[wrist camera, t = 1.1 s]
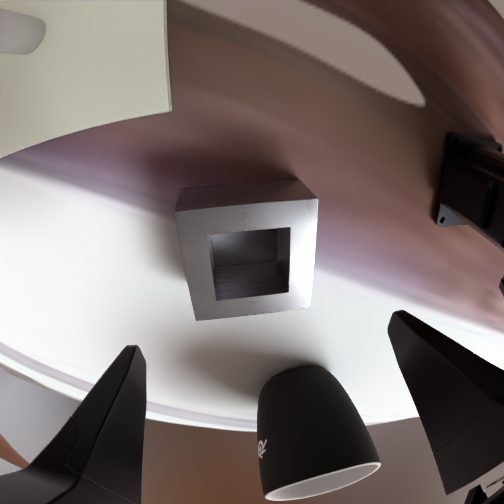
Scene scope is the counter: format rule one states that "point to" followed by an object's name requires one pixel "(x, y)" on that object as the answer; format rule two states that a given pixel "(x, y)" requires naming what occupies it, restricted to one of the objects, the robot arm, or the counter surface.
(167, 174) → the counter surface
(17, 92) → the peg board
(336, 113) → the counter surface
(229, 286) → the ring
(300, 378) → the mug
